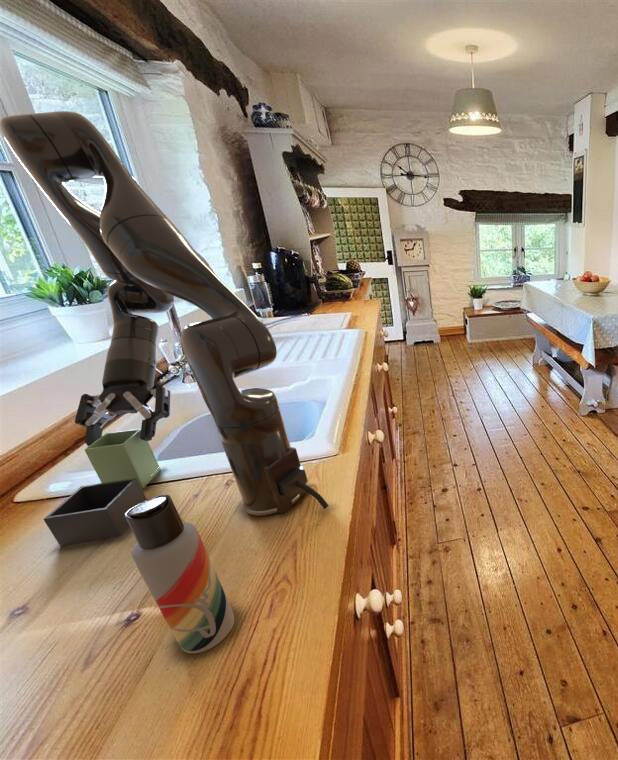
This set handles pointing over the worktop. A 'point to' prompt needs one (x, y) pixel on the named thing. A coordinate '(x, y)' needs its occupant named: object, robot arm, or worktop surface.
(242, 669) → the worktop surface
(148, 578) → the lotion bottle
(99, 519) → the charcoal bin
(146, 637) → the worktop surface
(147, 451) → the green bin
